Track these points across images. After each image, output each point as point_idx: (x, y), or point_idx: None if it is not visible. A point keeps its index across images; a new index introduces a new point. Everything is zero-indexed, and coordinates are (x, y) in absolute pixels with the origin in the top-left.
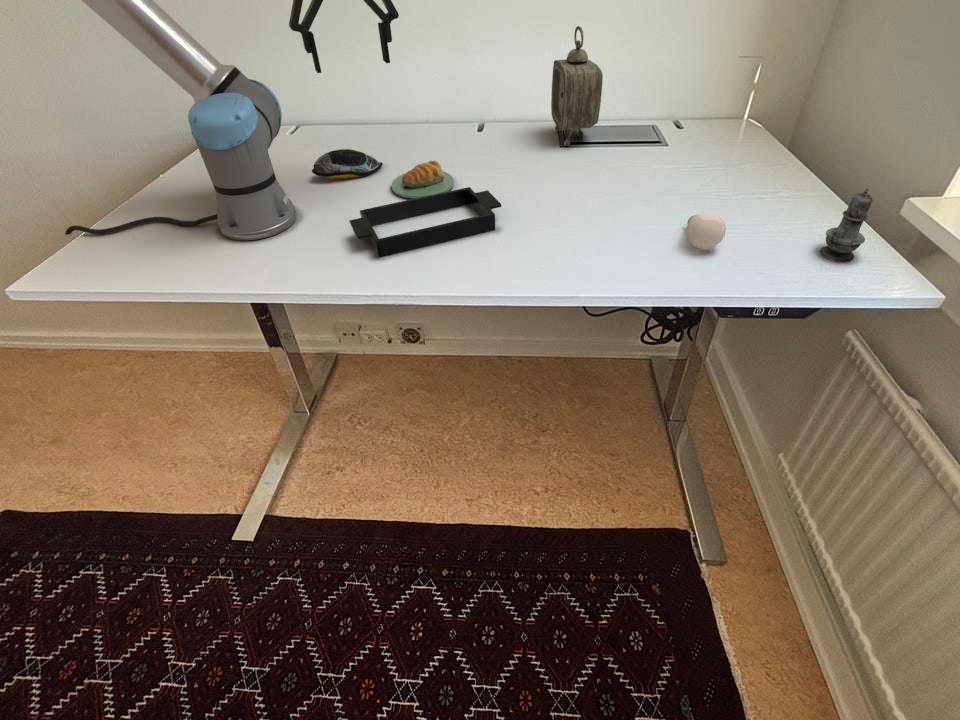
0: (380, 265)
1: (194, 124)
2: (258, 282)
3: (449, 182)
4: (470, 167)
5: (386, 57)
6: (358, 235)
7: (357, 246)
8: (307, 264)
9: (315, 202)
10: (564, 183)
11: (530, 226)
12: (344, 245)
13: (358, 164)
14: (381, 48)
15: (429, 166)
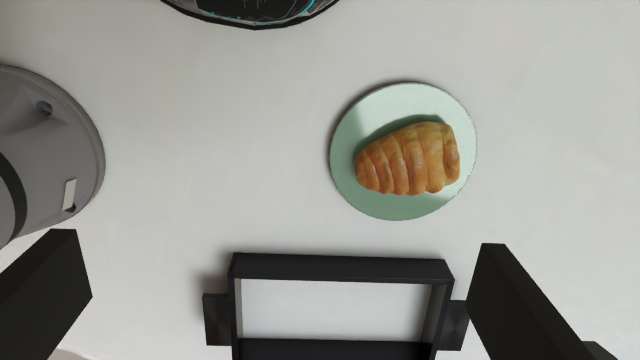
0: None
1: None
2: None
3: (452, 187)
4: (550, 110)
5: (480, 328)
6: (209, 343)
7: None
8: (129, 316)
9: (149, 109)
10: (633, 270)
11: (474, 355)
12: (192, 292)
13: (280, 18)
14: (513, 286)
15: (430, 180)
